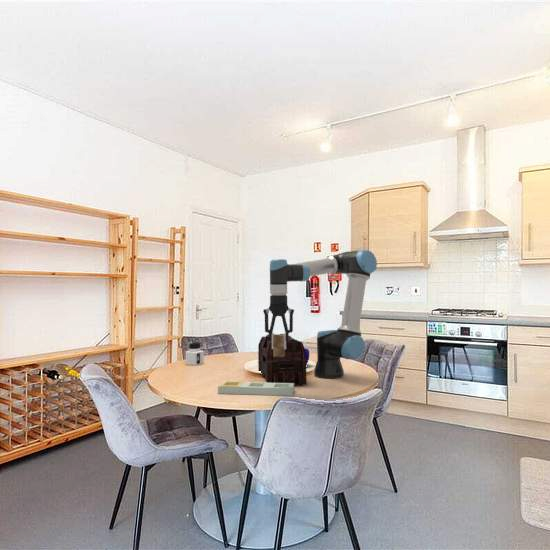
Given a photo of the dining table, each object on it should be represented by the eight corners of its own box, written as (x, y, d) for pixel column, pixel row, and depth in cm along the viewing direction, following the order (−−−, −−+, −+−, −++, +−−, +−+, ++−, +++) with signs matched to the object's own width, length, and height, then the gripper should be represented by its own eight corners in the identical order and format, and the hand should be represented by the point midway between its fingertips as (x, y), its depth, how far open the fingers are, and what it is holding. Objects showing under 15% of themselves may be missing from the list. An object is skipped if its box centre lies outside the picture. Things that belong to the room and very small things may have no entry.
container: (203, 363, 238) (203, 341, 238) (194, 365, 231) (194, 343, 232) (194, 362, 242) (194, 341, 242) (185, 364, 235) (185, 342, 236)
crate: (309, 386, 181) (308, 340, 182) (268, 388, 178) (268, 342, 178) (291, 370, 216) (290, 332, 216) (257, 372, 212) (256, 333, 213)
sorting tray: (294, 390, 174) (294, 382, 174) (292, 395, 165) (292, 387, 165) (223, 388, 178) (223, 381, 179) (217, 393, 170) (217, 385, 170)
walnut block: (284, 355, 173) (284, 334, 173) (283, 356, 168) (283, 335, 168) (274, 354, 173) (274, 334, 174) (273, 356, 169) (273, 335, 169)
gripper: (299, 294, 174) (299, 347, 173) (260, 294, 177) (260, 347, 176) (298, 294, 167) (298, 350, 166) (257, 295, 169) (257, 349, 168)
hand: (279, 348), depth 171 cm, fingers closed on walnut block, 4 cm apart
